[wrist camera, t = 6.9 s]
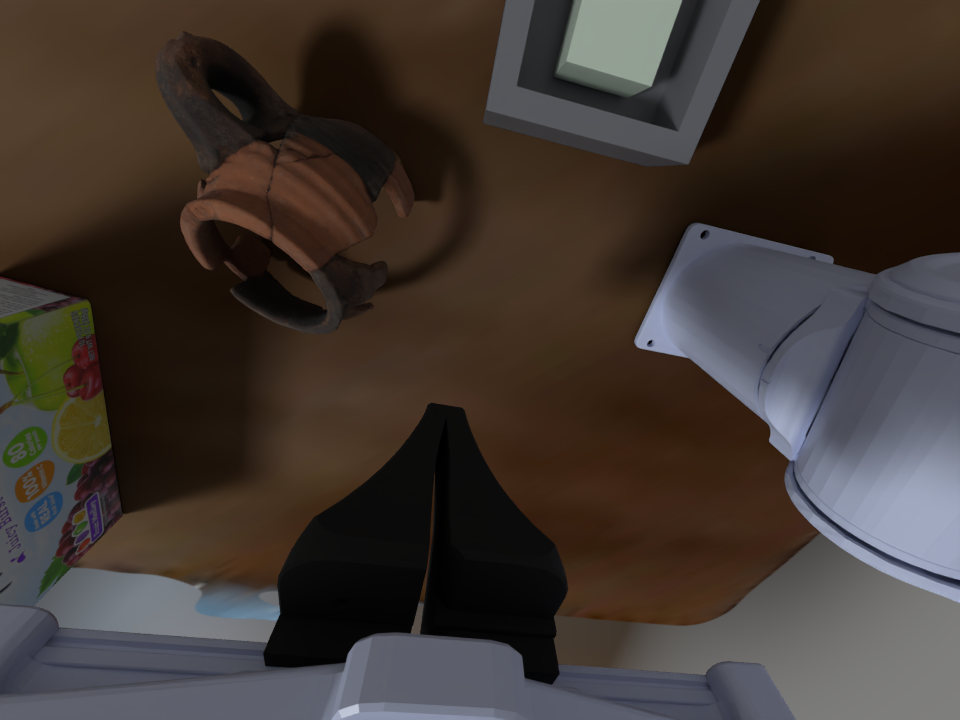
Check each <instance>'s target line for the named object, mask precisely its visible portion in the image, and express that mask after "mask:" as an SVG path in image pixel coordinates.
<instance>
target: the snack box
mask: <svg viewBox="0 0 960 720" xmlns="http://www.w3.org/2000/svg"><path fill="white" fill-rule="evenodd" d="M122 516H123V513H122V508H121V502H120V495H119V490H118V484H117V477H116V470H115V464H114V457H113V451H112V446H111V438H110V431H109V425H108V419H107V412H106V405H105V398H104V391H103V385H102V378H101V371H100V364H99V357H98V351H97V343H96V337H95V331H94V323H93V316H92V310H91V304H90V302H89V301H88V300H87V299H85V298H78V297H75V296H71V295H67V294H63V293H60V292H56V291H52V290H48V289H44V288H41V287H38V286H34V285H30V284H26V283H23V282H19V281H15V280H12V279H8V278H4V277H1V276H0V603H2V604H15V605H27V606H34V605H35V604H36V603H37V602H38V601H39V600H40V599H41V598H42V597H43V596H44V595H45V594H46V593H47V592H48V591H49V590H50V589H51V588H52V587H53V586H54V585H55V584H56V583H57V581H59V580H60V578H61V577H62V576H63V575H64V574H65V573H66V572H67V571H68V570H69V569H70V568H71V567H72V566H73V565H74V564H75V563H76V562H77V561H78V560H79V559H80V558H81V557H82V556H83V555H84V554H85V553H86V552H87V551H88V550H89V549H90V548H91V547H92V546H93V545H94V544H95V543H96V542H97V541H98V540H99V539H100V538H101V537H102V536H103V535H104V534H105V533H106V532H107V531H108V530H109V529H110V528H111V527H112V526H113V525H114V524H115V523H116V522H117V521H118V520H119V519H120V518H121V517H122Z"/></svg>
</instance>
